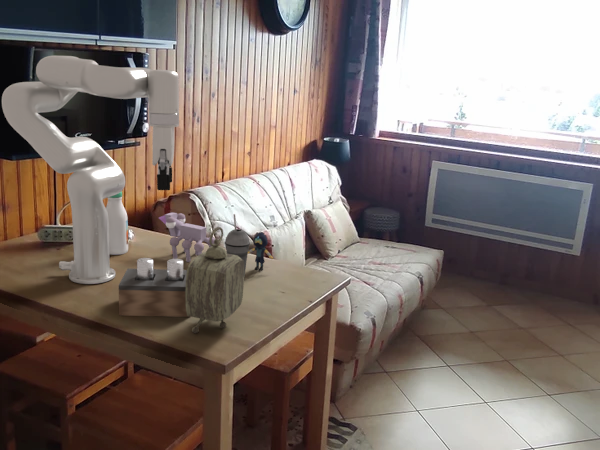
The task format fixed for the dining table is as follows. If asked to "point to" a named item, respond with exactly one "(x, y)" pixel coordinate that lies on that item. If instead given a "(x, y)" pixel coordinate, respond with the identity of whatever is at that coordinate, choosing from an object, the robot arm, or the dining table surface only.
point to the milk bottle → (117, 225)
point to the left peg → (145, 269)
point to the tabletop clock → (214, 284)
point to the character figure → (260, 250)
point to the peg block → (152, 295)
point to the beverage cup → (237, 243)
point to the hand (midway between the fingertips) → (164, 185)
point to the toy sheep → (185, 234)
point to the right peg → (175, 270)
